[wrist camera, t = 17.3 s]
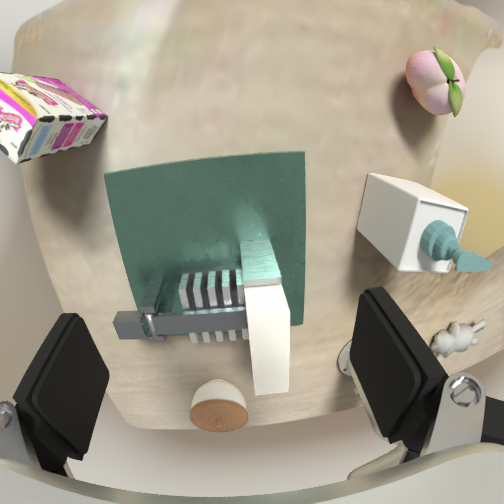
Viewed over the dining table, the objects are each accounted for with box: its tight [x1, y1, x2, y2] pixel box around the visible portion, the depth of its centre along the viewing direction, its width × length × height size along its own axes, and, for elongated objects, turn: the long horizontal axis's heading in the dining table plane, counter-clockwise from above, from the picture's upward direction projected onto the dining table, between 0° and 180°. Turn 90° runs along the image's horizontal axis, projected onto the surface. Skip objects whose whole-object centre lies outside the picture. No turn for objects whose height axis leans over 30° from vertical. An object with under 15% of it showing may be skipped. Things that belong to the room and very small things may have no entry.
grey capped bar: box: [113, 306, 248, 339], centre depth 37 cm, size 4×22×2 cm, turn 94°
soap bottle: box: [357, 173, 492, 273], centre depth 31 cm, size 9×9×19 cm
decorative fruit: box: [406, 46, 465, 117], centre depth 27 cm, size 9×8×10 cm
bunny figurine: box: [431, 319, 486, 358], centre depth 53 cm, size 10×5×15 cm
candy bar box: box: [0, 72, 108, 164], centre depth 23 cm, size 11×5×16 cm, turn 49°
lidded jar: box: [190, 379, 248, 432], centre depth 50 cm, size 11×11×9 cm
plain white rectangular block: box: [244, 283, 290, 396], centre depth 32 cm, size 12×4×6 cm, turn 4°
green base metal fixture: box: [104, 151, 306, 372], centre depth 36 cm, size 27×26×11 cm
